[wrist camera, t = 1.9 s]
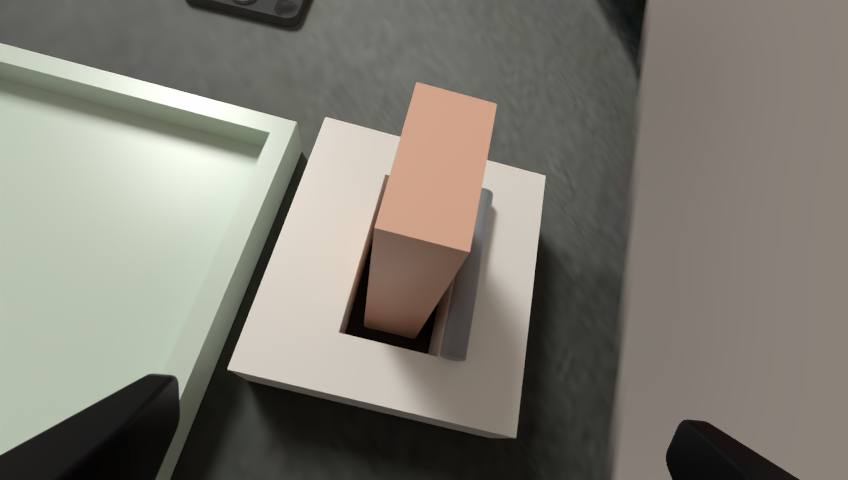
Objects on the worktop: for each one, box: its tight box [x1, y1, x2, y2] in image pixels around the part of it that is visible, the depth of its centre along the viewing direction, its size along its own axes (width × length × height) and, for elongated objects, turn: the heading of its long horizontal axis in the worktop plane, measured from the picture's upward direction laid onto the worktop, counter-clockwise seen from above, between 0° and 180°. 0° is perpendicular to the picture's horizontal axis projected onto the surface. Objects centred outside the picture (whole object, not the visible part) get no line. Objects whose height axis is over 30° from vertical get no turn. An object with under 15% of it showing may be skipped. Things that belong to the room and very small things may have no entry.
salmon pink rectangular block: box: [364, 82, 497, 339], centre depth 17 cm, size 5×2×11 cm, turn 168°
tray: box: [0, 43, 302, 480], centre depth 19 cm, size 20×17×2 cm
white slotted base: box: [227, 117, 545, 438], centre depth 20 cm, size 12×11×4 cm
